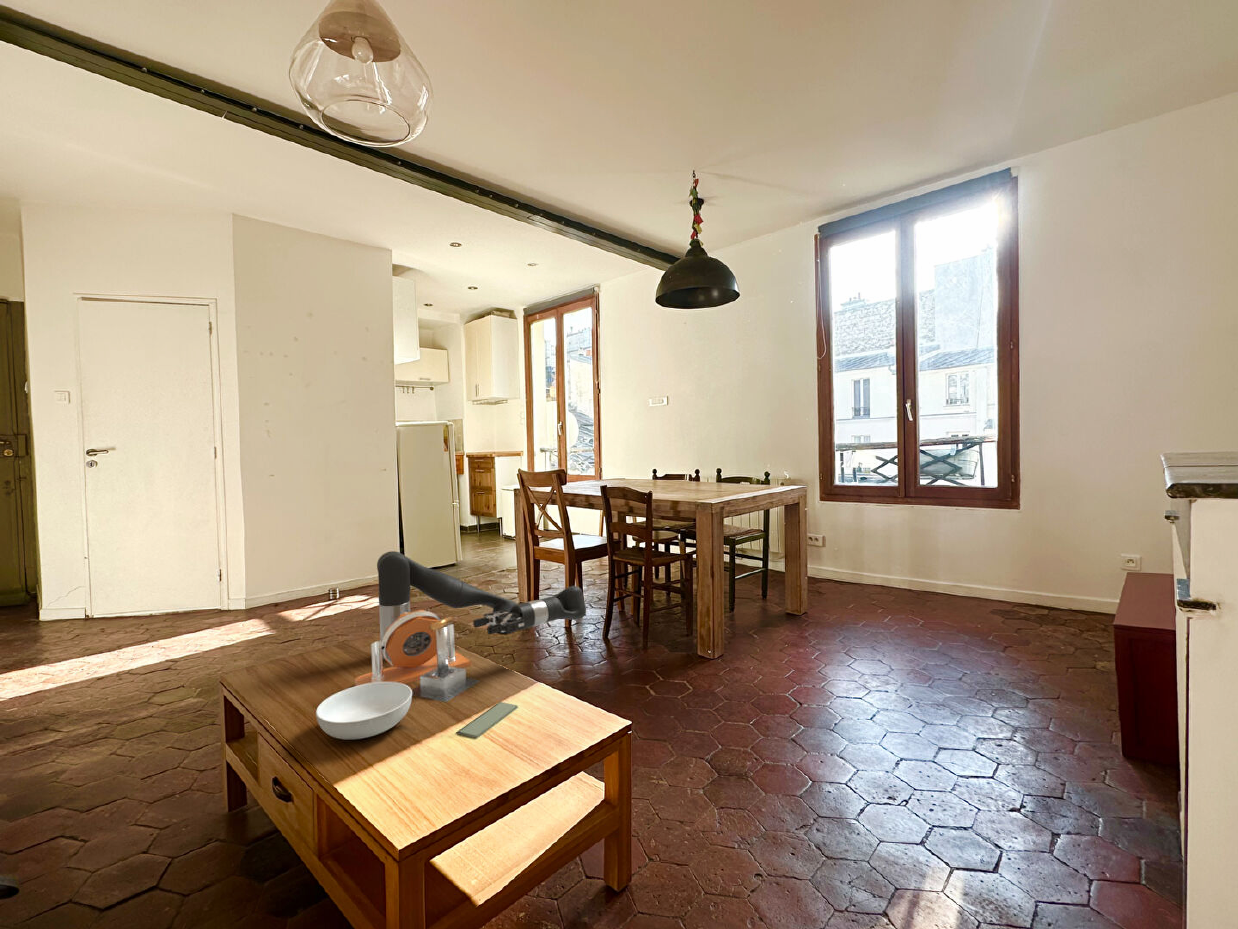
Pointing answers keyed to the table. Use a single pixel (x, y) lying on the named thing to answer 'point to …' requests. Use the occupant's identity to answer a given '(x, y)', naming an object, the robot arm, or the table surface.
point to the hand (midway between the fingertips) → (480, 627)
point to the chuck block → (443, 684)
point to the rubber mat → (487, 720)
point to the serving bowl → (364, 710)
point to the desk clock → (409, 650)
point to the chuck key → (442, 645)
